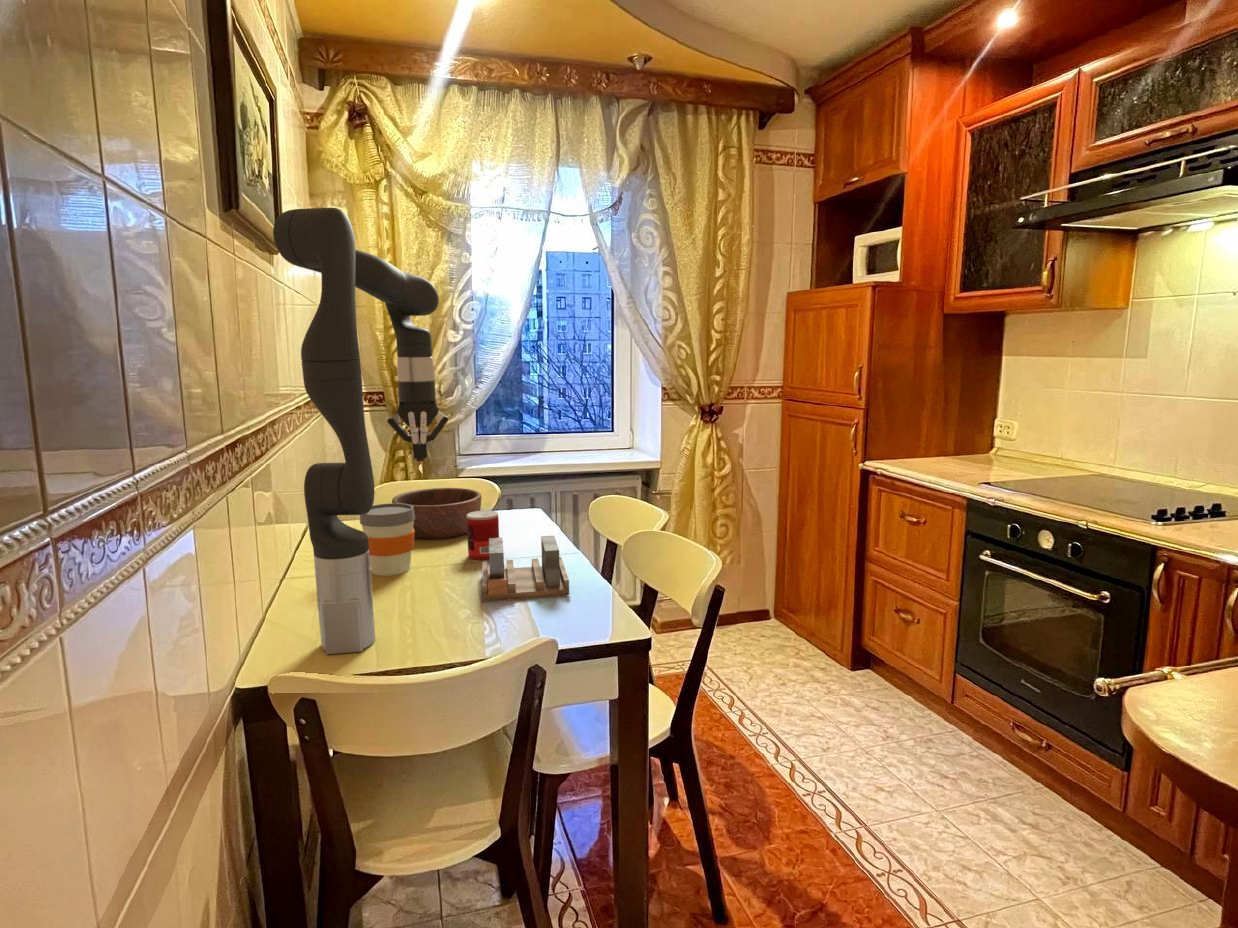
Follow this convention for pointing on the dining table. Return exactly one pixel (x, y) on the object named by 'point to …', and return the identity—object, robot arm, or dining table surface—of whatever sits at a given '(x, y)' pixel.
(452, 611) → the dining table surface
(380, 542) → the reusable coffee cup
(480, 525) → the canned food
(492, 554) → the panel
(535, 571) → the rack
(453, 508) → the wooden bowl
